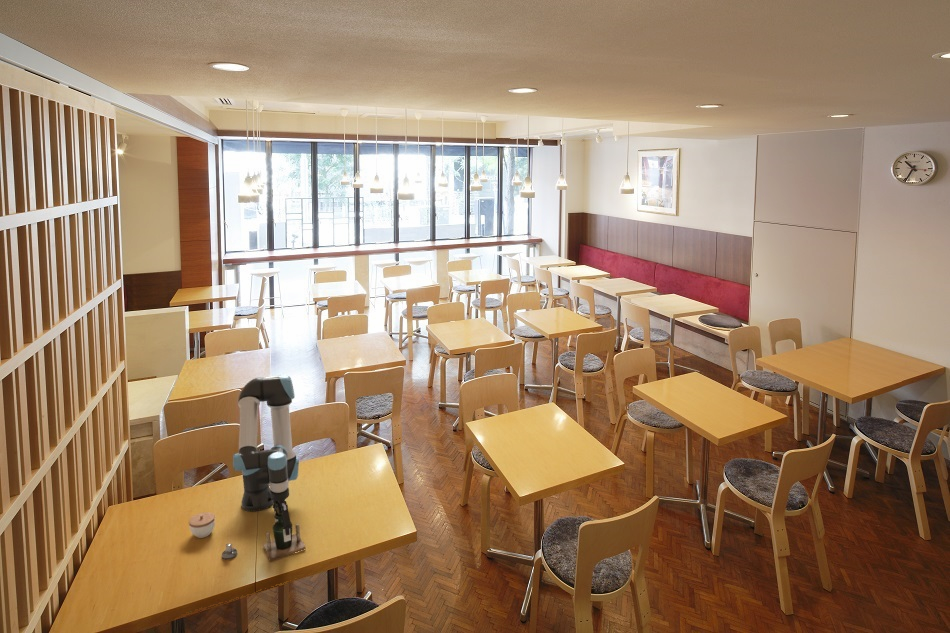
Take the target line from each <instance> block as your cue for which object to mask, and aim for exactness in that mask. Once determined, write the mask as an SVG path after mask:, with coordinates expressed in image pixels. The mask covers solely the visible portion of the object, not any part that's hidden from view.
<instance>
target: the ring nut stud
mask: <svg viewBox="0 0 950 633" xmlns="http://www.w3.org/2000/svg"><path fill="white" fill-rule="evenodd" d="M237 556H238V550H237V549H236V548H233V544H232V543H231V542H229V543H227V544H225V550H224V551H223V552H222V553H221V557H222V559H223V560H225V561H227V560H232V559H234V558H235V557H237Z"/></svg>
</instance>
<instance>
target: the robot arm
mask: <svg viewBox="0 0 950 633" xmlns="http://www.w3.org/2000/svg"><path fill="white" fill-rule="evenodd" d="M295 396H296V395H295V389H294V385H293V380H292V378H291V376H290V375H281V374H280V375H272V376H265V377H255V378H253V379H251V380H250V381H248V382H247V383H246V384H245V385H244V386H243V388H242V389H241V391H240V392H239V395H238V398H237V399H238V401H237V405H238V407H239V429H238V430H239V435H238V436H239V437H238V452H237V453H234V454H233V455H232V466H233V467H232V468H233V470H234V471H236V472H241V474H242V482H243V495H242V499H241V508H242V509H243V510H244V511H246V512H260V511H263V510H266V509H268V508H270V507H271V506H272V508H273V512H274V514H275V513H276V512H277V510H276V509H277V508H278V511H279V513H280V514H281V518H282V522H283V527H284V528H282V530H283V534H284V542H287V541H290V540H291V534H290V528H291V523H292V522H291V519H290V513H289V505H288V503H287V501H286V500H287V499H288V497H289V496H290V485H289V482H291V481H295V480H297V479H298V478H299V469H300V468H299V466H300V465H299V464H300V456H299V455H297V454H296V451H294V450H293V440H292V430H291V416H290V405H291V404H292V403H293V399H295ZM262 402H263V403H264V402H266V405H267V406H268V407H269V408H270V416H271V417H270V418H271V420H270V421H271V428H272V430H271V431H272V441H273V443H272V444H273V447H271V449H264V450H258V417H259V416H258V414H259V413H258V411H259V410H258V409H259V407H260V405H261V403H262ZM280 510H282V511H280ZM274 521H275V522H274V524H275V523H276V522H277V521H278V519H275V518H274Z"/></svg>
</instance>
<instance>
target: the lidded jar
mask: <svg viewBox="0 0 950 633" xmlns="http://www.w3.org/2000/svg"><path fill="white" fill-rule="evenodd" d="M215 518H216V517H215V514H214V513H213V512H209V511H208V512H207V511H206V512H205V511H204V512H200V513H197V514H194V515H193V516H191V517H190V518H189V520H188V526H189V530H190V532H191V534H192V535H193V536H195V537H196V538H197V539H198V538H199V539H200V538H201V539H202V538H206V537H208V536H210V534H211V533H212V531H214V528H215V526H216V519H215Z"/></svg>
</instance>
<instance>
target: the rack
mask: <svg viewBox="0 0 950 633" xmlns="http://www.w3.org/2000/svg"><path fill="white" fill-rule="evenodd" d="M265 540H266V543H263V544H262V545H263V546H262V547H263V549H264V552H265V553H267V554H266V556H267V557H268V560H269V562H270V563H271V562H274V561H278V560H279V559H283V558H286V557H289V556H292V555H294V554H293V553H295V552H298V551H301V550H304V549H307V548H306V546H305V543H304V542H303V540H302V538H301V530H300V524H299V523H295V533H294V534H293V533H292V545H291V546H290V547H289V548H287V549H283V550H281V549H278V548H277V547H276V543H275V539H274V540H271V532H266V534H265ZM304 551H305V550H304ZM301 552H302V551H301ZM298 553H299V552H298ZM291 554H292V555H291ZM295 554H296V553H295ZM288 555H289V556H288Z"/></svg>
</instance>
